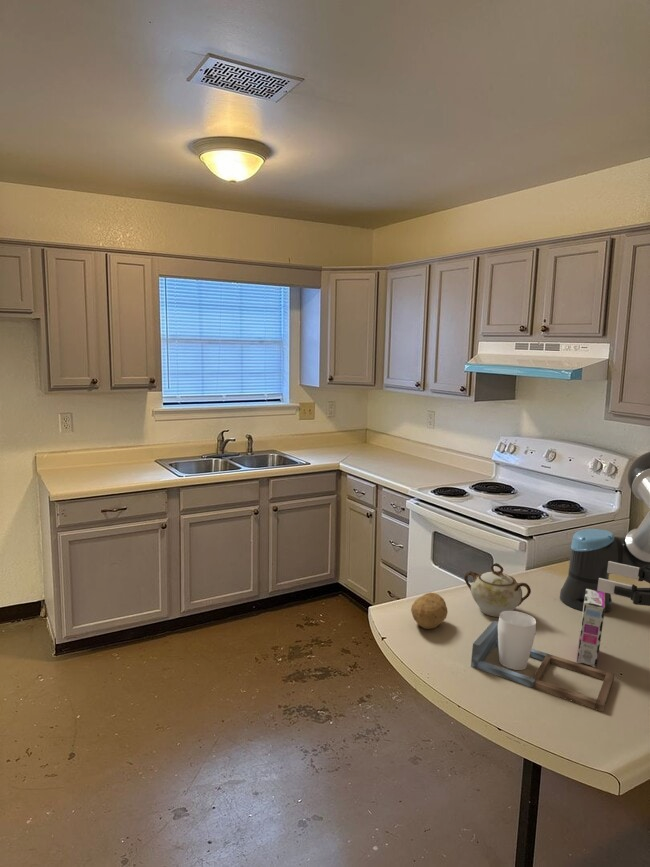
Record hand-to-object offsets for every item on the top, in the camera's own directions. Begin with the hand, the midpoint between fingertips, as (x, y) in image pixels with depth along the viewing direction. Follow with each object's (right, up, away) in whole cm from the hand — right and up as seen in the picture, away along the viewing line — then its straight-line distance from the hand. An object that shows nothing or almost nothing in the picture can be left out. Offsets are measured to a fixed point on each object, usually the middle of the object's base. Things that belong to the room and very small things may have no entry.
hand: (602, 575), depth 135 cm
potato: (-34, -22, +32) cm, 52 cm away
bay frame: (-10, -26, +10) cm, 30 cm away
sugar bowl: (-12, -22, +44) cm, 50 cm away
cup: (-16, -26, +14) cm, 33 cm away
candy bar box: (+5, -26, +19) cm, 33 cm away
